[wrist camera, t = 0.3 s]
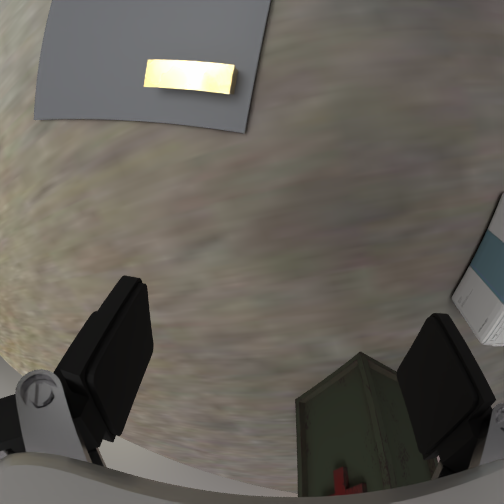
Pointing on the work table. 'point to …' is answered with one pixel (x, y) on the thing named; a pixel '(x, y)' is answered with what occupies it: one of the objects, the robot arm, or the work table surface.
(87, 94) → the base plate
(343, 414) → the first aid box
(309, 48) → the work table surface
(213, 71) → the strip
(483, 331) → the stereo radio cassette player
